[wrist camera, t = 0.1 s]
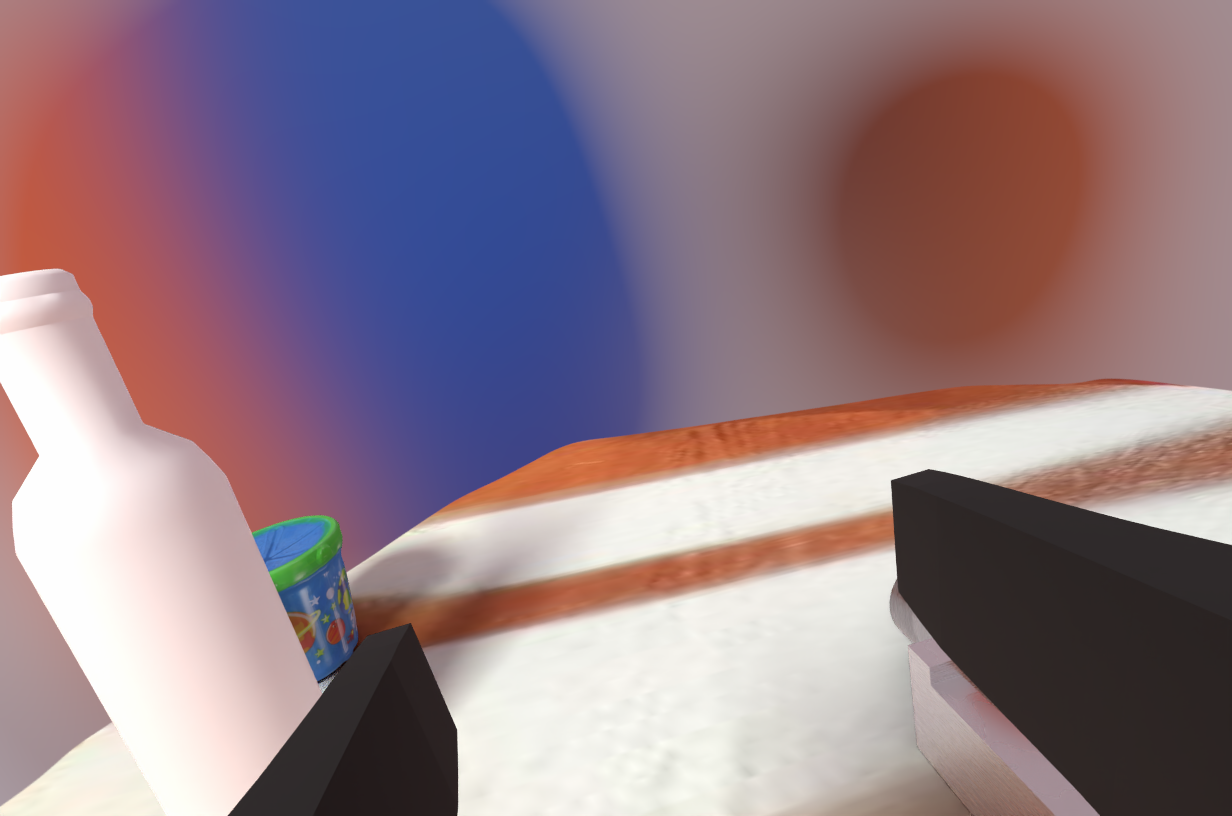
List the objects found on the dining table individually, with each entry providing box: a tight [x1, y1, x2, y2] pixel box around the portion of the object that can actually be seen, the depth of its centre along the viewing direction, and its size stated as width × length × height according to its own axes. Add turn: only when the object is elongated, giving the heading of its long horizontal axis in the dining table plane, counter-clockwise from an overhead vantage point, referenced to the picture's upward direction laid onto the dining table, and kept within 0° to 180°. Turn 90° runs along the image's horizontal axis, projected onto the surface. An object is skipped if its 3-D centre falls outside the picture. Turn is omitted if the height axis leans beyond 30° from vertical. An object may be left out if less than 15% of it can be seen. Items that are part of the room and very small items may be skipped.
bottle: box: [0, 269, 322, 816], centre depth 29 cm, size 8×8×30 cm
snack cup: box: [252, 515, 358, 681], centre depth 46 cm, size 16×10×10 cm
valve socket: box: [890, 580, 1100, 816], centre depth 28 cm, size 14×12×8 cm
